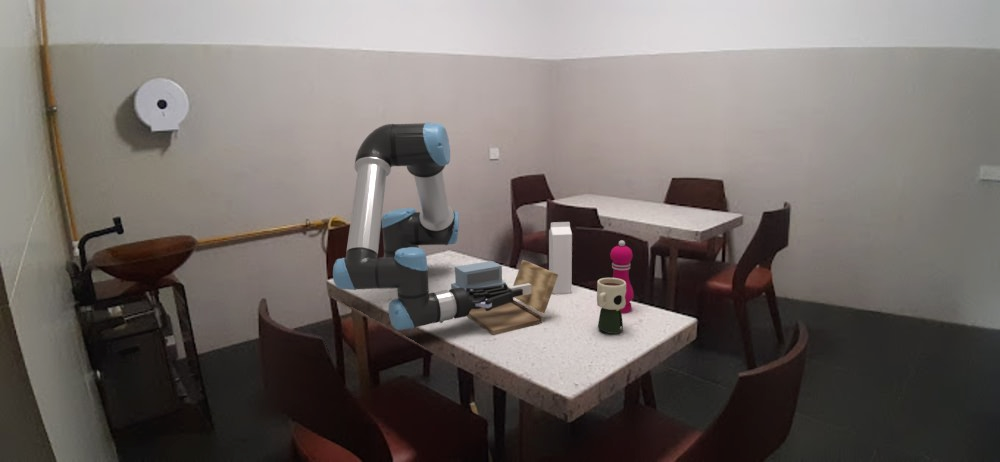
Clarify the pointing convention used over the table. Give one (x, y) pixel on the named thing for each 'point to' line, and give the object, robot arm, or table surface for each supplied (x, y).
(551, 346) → the table surface
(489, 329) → the flatbed
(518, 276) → the side gate
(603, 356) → the table surface
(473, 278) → the cab
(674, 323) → the table surface
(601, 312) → the character mug
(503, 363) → the table surface
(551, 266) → the milk
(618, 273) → the pepper mill
